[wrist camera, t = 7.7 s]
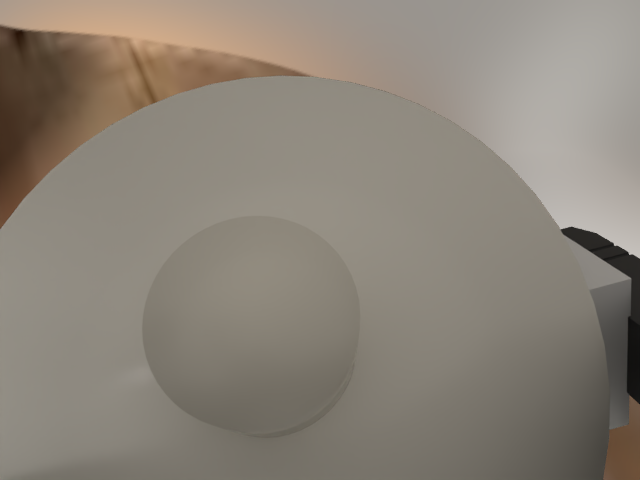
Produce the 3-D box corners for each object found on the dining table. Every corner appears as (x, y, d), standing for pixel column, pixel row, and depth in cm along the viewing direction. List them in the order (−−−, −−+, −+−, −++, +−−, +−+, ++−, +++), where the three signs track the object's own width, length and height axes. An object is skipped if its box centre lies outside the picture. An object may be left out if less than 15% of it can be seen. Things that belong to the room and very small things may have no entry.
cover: (131, 586, 14) (-324, 849, 5) (169, 260, 18) (-45, 8, 8) (481, 593, 14) (806, 893, 4) (452, 259, 17) (595, -5, 8)
